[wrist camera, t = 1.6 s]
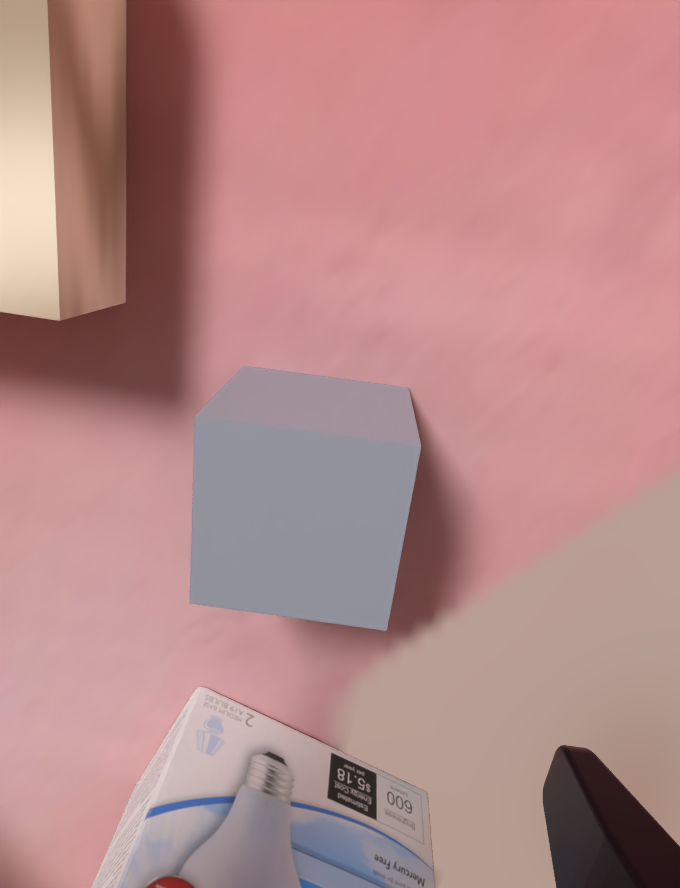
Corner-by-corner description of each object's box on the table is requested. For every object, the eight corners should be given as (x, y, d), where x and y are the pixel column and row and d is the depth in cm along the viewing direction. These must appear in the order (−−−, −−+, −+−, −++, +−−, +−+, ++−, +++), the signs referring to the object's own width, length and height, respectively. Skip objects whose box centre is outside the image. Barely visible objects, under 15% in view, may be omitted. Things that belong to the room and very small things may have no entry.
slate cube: (383, 530, 19) (386, 630, 14) (235, 510, 19) (189, 603, 14) (408, 387, 17) (421, 446, 12) (244, 365, 17) (194, 416, 12)
